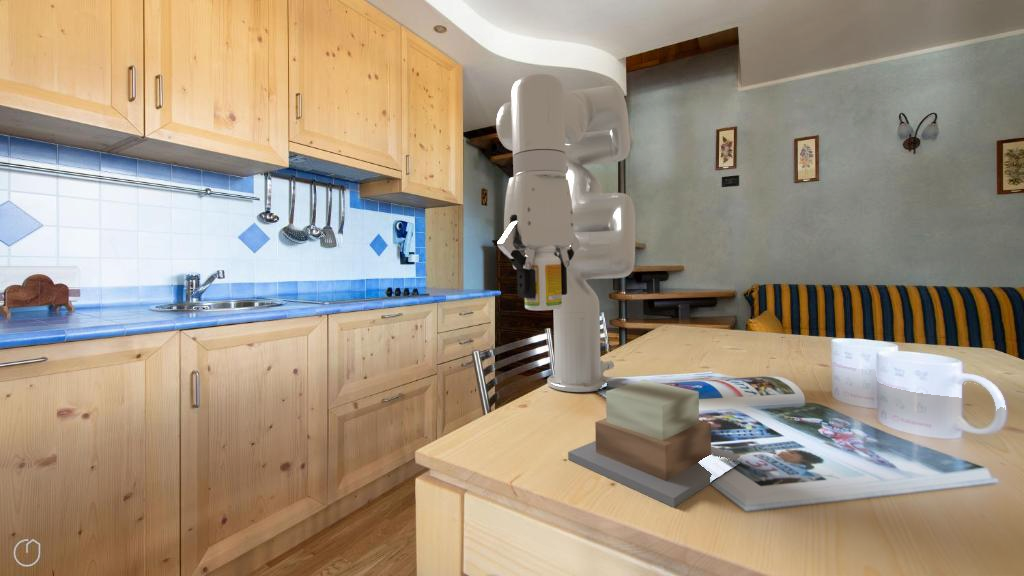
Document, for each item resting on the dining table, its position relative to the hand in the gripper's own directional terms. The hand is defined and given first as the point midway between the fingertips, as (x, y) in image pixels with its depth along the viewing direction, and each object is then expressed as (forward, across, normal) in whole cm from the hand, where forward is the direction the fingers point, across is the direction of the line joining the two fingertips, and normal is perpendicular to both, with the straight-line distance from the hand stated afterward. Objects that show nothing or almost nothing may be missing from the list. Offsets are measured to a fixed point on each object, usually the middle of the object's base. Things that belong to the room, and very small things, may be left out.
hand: (542, 294), depth 64 cm
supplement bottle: (+2, 0, 0) cm, 2 cm away
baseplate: (+21, -4, +15) cm, 26 cm away
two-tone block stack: (+21, -4, +15) cm, 26 cm away
